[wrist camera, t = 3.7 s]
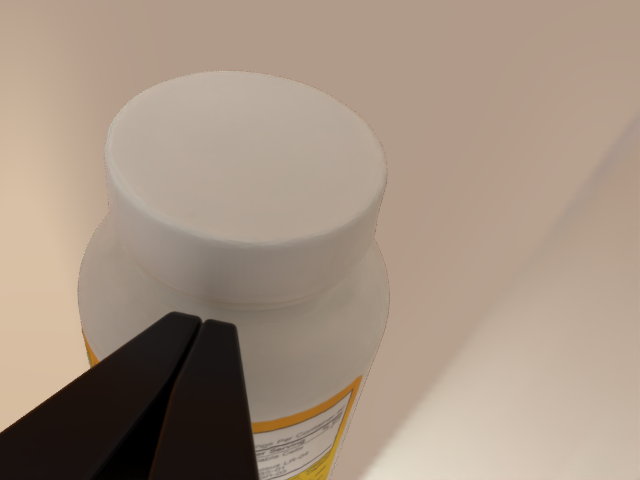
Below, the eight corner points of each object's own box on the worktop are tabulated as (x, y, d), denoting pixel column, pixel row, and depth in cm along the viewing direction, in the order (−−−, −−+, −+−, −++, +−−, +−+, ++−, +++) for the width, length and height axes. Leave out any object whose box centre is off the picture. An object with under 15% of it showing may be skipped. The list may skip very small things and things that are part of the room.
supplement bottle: (262, 619, 13) (336, 370, 6) (63, 491, 14) (-58, 167, 7) (363, 419, 17) (480, 125, 10) (198, 331, 18) (200, 16, 11)
